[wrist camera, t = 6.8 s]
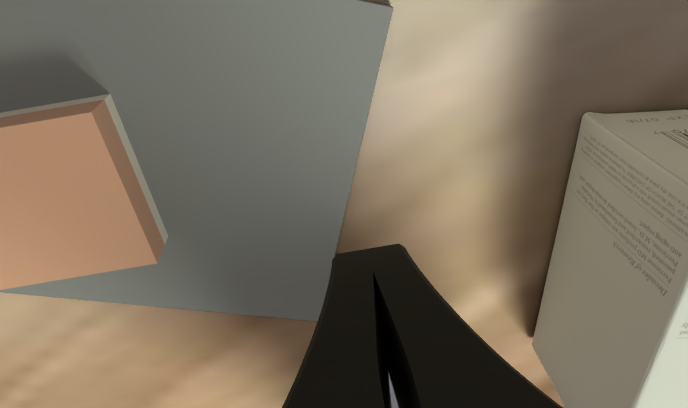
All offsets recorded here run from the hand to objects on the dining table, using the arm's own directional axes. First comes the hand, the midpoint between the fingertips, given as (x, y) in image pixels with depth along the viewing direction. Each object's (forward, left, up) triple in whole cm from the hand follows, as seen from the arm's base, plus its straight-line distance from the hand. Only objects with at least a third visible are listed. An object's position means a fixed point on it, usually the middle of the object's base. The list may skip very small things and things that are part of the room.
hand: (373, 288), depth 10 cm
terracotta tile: (-3, +7, -9) cm, 12 cm away
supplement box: (+3, -13, -6) cm, 14 cm away
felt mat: (-3, +7, -10) cm, 12 cm away
